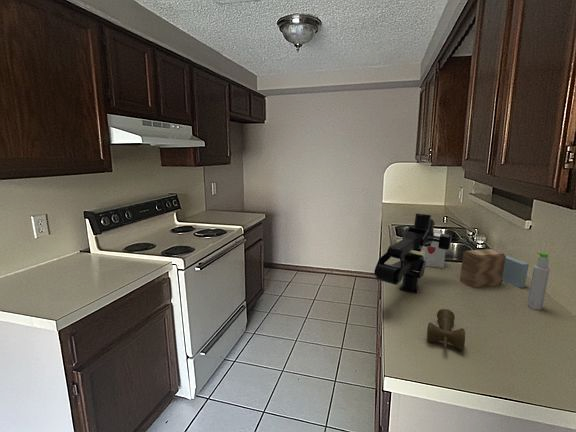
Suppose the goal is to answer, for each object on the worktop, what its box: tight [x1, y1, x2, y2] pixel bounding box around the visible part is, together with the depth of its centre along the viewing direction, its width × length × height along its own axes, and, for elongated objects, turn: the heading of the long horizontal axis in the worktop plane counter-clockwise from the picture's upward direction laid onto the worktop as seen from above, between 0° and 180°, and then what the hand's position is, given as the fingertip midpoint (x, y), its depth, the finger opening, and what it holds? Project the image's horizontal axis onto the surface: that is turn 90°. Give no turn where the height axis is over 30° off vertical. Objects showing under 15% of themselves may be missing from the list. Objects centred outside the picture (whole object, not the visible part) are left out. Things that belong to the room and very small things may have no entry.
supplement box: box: [423, 232, 447, 269], centre depth 154 cm, size 9×9×15 cm
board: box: [502, 255, 529, 289], centre depth 136 cm, size 3×14×10 cm, turn 12°
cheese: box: [395, 237, 424, 256], centre depth 168 cm, size 15×7×15 cm
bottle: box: [526, 252, 550, 311], centre depth 112 cm, size 4×4×20 cm
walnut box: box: [459, 248, 507, 289], centre depth 133 cm, size 14×7×14 cm, turn 102°
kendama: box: [426, 308, 466, 352], centre depth 94 cm, size 6×10×20 cm
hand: (431, 237), depth 143 cm, fingers open, 9 cm apart
